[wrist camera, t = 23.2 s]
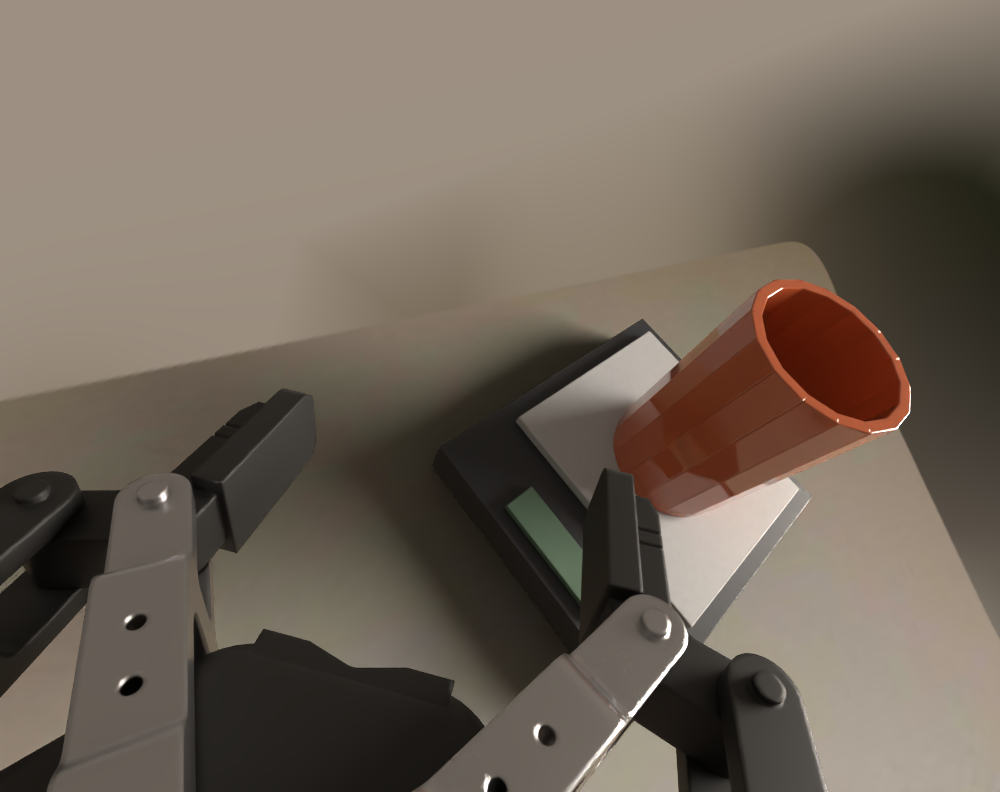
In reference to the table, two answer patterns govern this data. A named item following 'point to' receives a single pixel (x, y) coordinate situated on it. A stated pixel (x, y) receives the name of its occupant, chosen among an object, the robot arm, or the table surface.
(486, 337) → the table surface
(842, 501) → the table surface
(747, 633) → the table surface
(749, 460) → the cup
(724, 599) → the scale
